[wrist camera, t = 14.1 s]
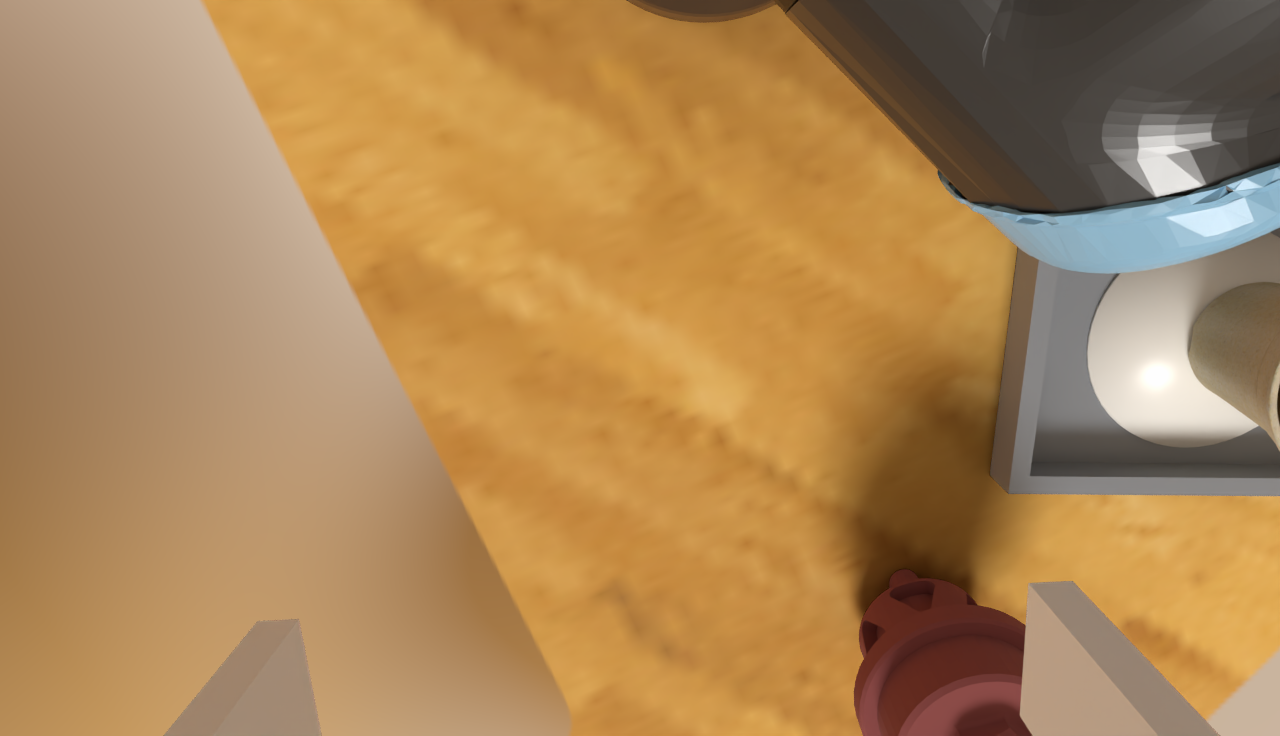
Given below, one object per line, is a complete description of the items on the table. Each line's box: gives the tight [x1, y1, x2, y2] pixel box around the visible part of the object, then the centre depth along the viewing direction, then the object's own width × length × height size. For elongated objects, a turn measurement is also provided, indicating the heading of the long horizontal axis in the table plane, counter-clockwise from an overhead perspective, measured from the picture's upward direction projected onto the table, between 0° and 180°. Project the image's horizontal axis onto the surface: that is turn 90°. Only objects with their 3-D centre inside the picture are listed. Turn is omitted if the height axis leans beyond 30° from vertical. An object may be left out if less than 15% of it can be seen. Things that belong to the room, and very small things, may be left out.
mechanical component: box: [854, 569, 1032, 736], centre depth 43 cm, size 12×10×10 cm
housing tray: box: [990, 228, 1280, 496], centre depth 43 cm, size 16×20×2 cm
